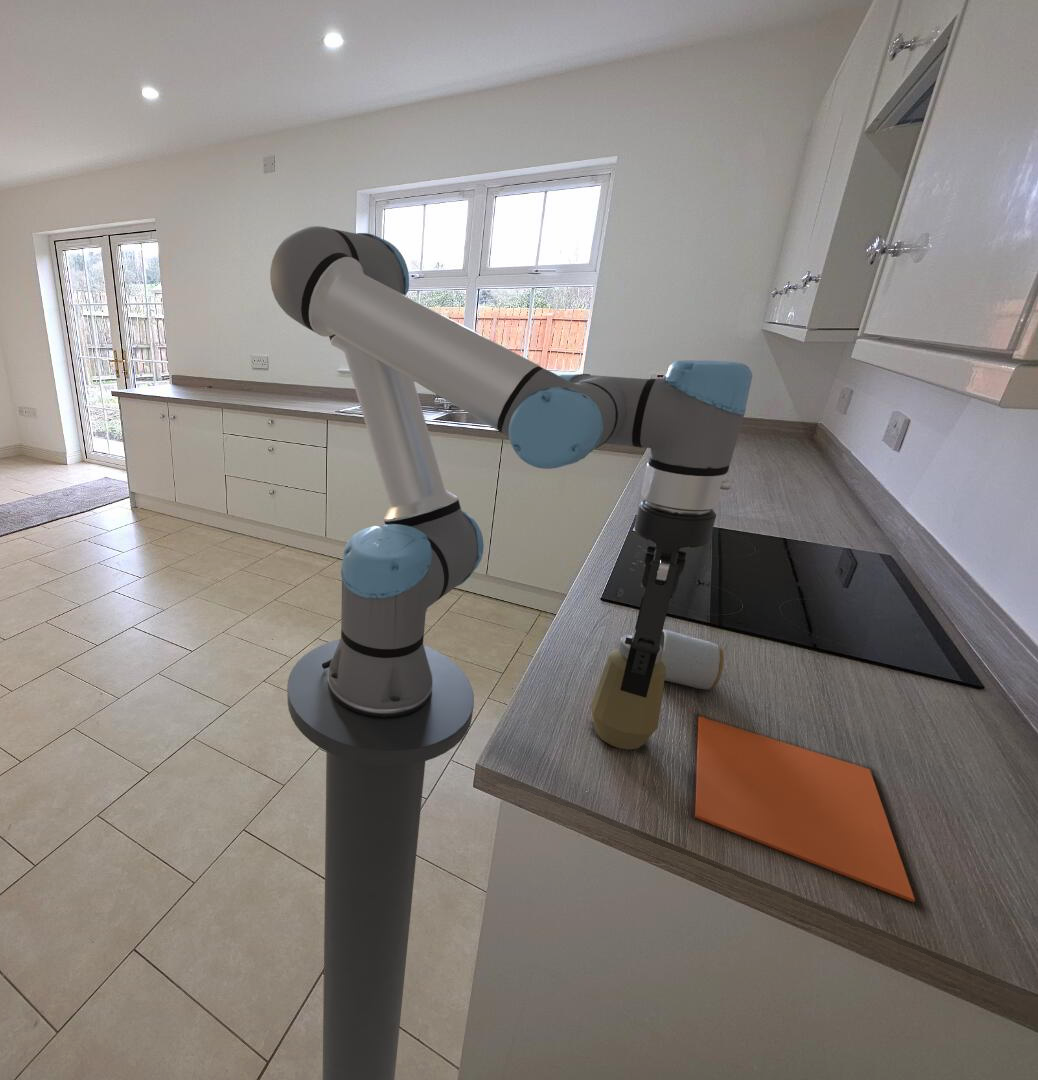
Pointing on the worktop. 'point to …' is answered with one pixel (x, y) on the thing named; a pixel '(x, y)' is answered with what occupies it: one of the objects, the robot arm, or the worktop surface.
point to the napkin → (797, 804)
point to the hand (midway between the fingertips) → (639, 664)
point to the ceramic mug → (691, 660)
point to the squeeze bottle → (626, 703)
